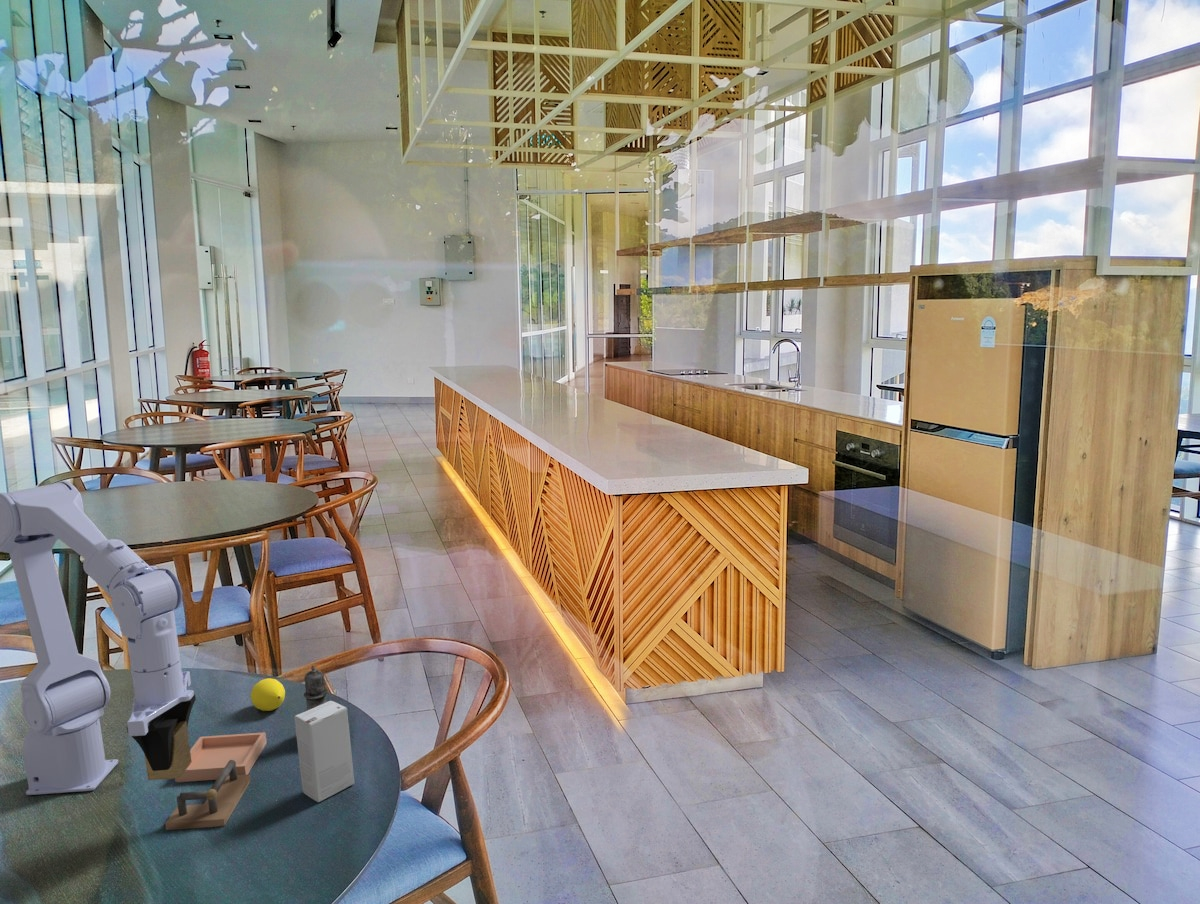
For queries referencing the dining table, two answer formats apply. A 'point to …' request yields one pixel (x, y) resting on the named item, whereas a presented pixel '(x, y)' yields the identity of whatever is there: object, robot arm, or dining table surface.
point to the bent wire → (210, 802)
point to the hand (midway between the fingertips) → (168, 759)
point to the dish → (223, 755)
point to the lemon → (267, 694)
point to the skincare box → (324, 750)
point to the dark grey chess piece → (314, 689)
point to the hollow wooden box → (175, 755)
